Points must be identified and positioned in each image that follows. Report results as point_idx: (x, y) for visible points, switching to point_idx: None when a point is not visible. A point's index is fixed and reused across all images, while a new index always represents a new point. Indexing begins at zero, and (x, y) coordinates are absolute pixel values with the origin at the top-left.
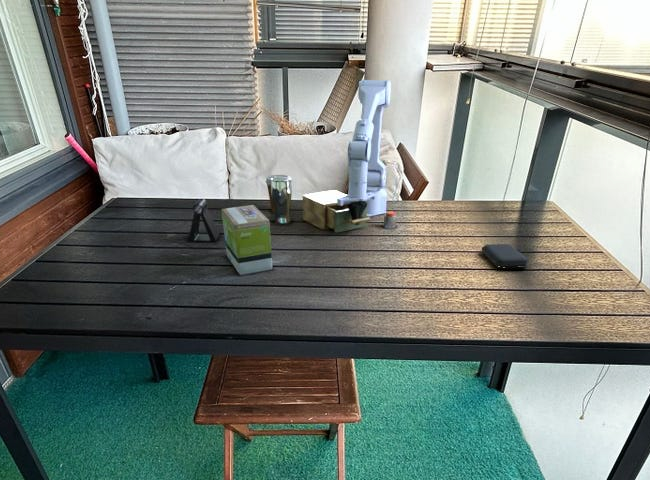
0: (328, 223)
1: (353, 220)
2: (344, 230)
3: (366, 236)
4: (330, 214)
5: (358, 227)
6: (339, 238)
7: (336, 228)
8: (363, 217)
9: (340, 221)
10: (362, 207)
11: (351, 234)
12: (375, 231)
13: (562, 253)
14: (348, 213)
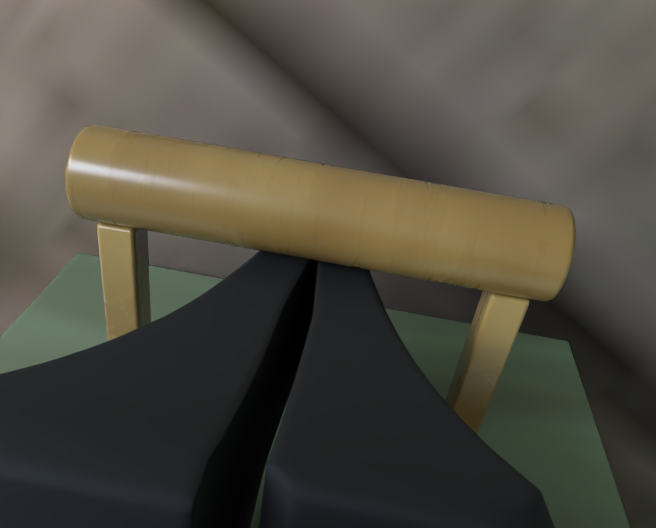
0: None
1: (535, 254)
2: (434, 321)
3: (279, 14)
4: None
5: (202, 277)
6: (636, 224)
7: (580, 382)
8: (142, 282)
9: (528, 441)
10: (197, 411)
11: None
12: (30, 81)
13: None
14: None
